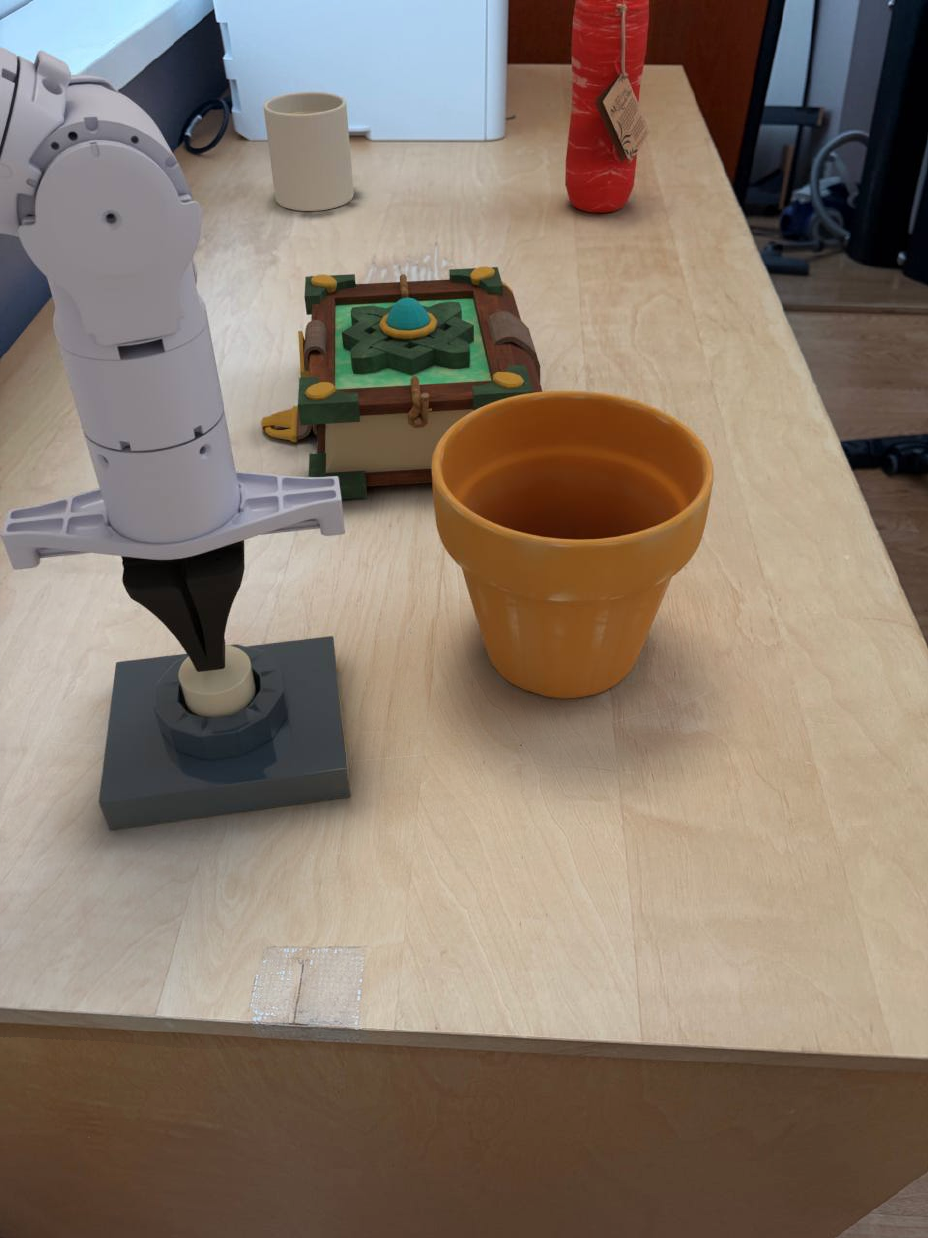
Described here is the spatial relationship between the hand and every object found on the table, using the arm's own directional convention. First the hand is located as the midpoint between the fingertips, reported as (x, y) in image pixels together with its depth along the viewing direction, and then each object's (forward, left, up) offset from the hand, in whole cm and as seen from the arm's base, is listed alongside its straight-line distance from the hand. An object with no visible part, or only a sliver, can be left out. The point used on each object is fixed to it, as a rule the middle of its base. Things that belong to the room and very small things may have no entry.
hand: (211, 657), depth 52 cm
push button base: (0, 0, -6) cm, 6 cm away
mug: (+10, +83, -6) cm, 84 cm away
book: (+13, +34, -6) cm, 37 cm away
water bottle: (+40, +72, -6) cm, 83 cm away
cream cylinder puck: (0, 0, -3) cm, 3 cm away
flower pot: (+19, +4, -6) cm, 21 cm away
